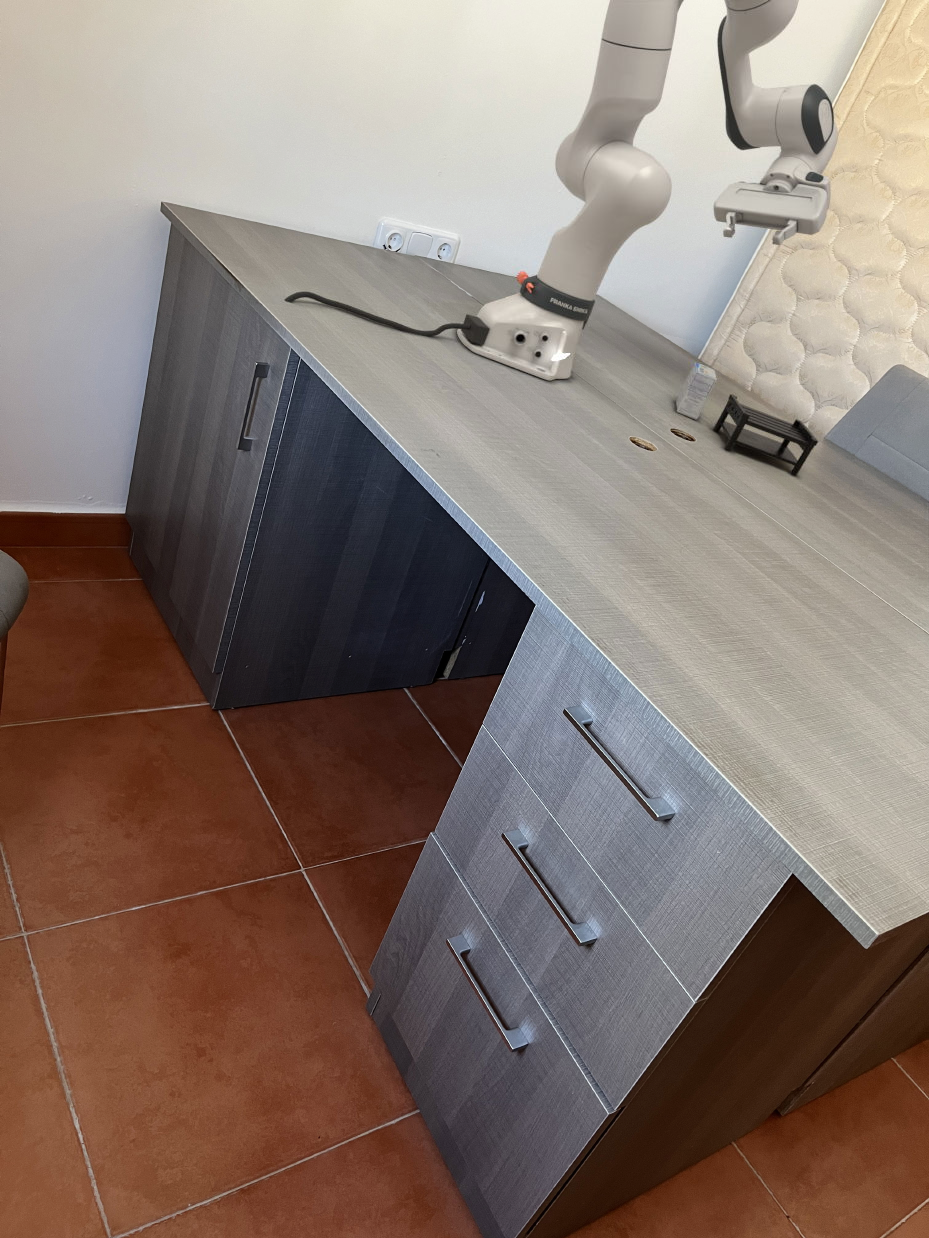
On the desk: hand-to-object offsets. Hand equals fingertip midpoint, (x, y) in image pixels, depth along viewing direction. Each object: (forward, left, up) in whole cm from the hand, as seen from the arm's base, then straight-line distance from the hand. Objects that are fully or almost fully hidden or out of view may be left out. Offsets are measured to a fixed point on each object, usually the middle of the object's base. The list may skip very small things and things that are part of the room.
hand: (751, 238), depth 169 cm
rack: (+13, -16, -33) cm, 38 cm away
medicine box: (+3, -3, -33) cm, 33 cm away
